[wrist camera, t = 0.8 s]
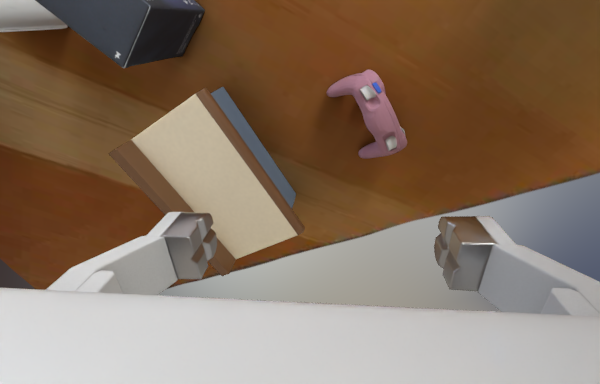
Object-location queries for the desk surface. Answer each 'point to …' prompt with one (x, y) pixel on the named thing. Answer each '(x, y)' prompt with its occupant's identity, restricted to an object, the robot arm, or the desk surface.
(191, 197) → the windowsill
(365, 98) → the video game controller
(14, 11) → the photo printer
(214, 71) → the desk surface
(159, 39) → the small box
